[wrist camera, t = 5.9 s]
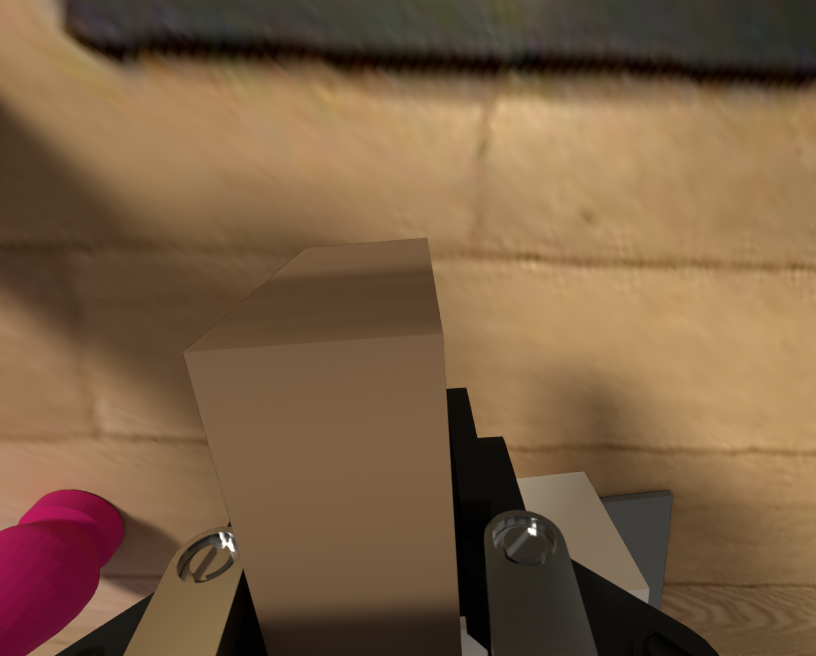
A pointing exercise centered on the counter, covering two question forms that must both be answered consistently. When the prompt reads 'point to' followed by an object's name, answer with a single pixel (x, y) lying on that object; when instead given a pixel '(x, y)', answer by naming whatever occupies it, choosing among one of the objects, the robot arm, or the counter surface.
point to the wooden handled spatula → (338, 453)
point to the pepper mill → (52, 566)
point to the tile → (584, 527)
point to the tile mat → (644, 533)
